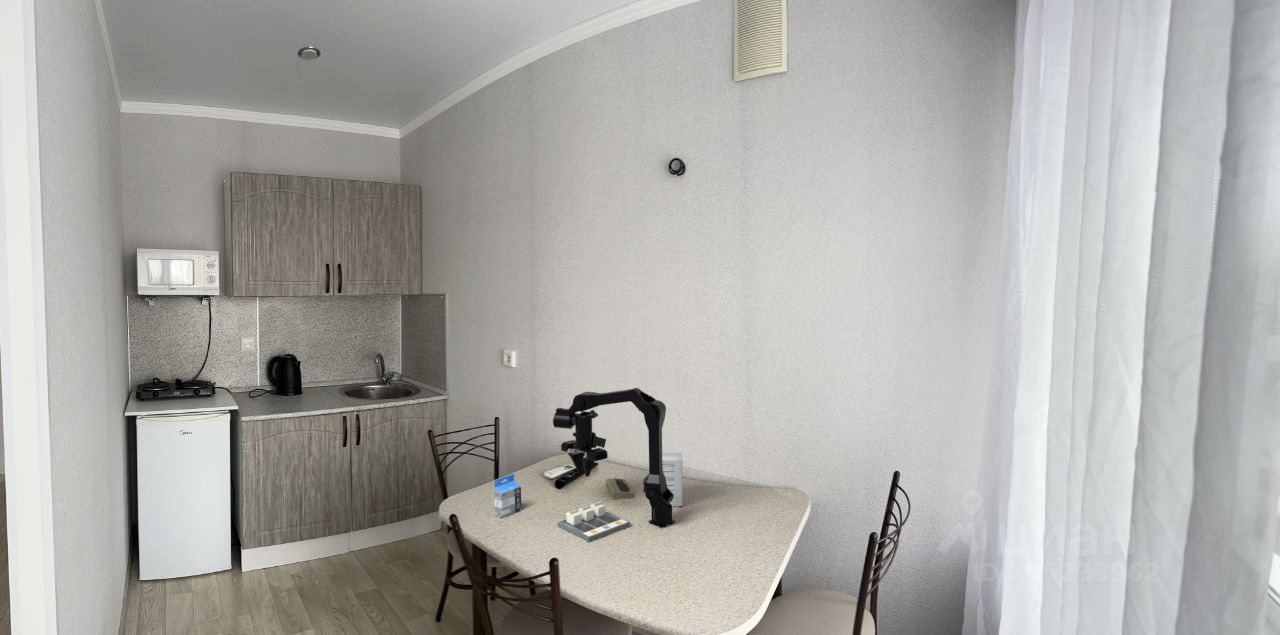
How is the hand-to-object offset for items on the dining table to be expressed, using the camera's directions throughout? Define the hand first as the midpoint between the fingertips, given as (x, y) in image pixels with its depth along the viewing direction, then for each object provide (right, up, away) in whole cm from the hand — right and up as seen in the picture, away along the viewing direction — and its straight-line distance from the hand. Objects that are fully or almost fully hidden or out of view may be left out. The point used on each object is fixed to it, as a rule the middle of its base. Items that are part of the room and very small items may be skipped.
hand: (584, 475), depth 200 cm
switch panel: (+4, -14, -11) cm, 18 cm away
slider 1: (-2, -12, -12) cm, 17 cm away
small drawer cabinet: (+30, -13, +10) cm, 34 cm away
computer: (+11, -13, +22) cm, 28 cm away
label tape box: (-26, -13, 0) cm, 29 cm away
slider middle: (+2, -12, -8) cm, 15 cm away
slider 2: (+5, -12, -5) cm, 14 cm away
